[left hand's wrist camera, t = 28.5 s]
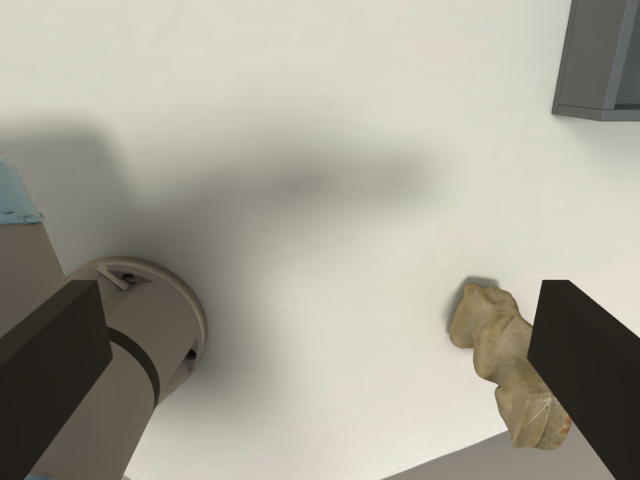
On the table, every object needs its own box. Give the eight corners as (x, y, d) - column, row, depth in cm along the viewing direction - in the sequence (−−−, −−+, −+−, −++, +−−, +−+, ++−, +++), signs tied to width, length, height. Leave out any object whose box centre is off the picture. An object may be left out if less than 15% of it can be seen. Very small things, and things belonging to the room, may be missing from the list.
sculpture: (436, 334, 44) (490, 454, 30) (456, 271, 42) (526, 370, 28) (490, 342, 44) (569, 465, 30) (514, 281, 42) (611, 383, 28)
